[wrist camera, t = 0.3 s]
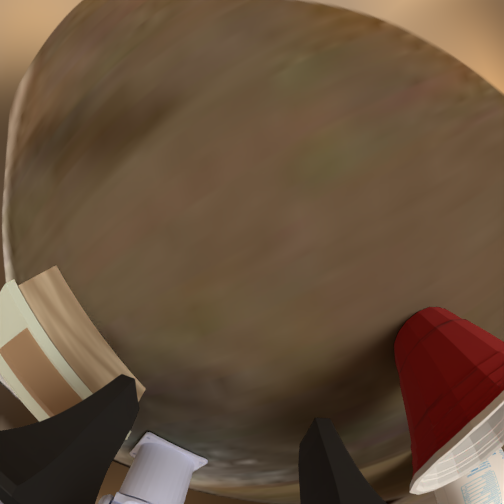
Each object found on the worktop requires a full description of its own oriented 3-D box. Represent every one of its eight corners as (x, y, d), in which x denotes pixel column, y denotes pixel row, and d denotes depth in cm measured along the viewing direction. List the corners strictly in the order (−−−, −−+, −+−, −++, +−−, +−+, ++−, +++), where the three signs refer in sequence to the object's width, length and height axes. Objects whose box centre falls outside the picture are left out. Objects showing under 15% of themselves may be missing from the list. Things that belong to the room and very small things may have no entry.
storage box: (56, 265, 19) (18, 285, 14) (145, 388, 22) (125, 425, 17) (12, 315, 22) (-14, 333, 17) (78, 405, 25) (60, 429, 20)
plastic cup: (434, 389, 19) (479, 478, 8) (343, 380, 20) (370, 508, 8) (490, 291, 16) (575, 363, 5) (403, 258, 16) (519, 361, 5)
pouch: (444, 421, 21) (492, 544, 2) (499, 423, 22) (538, 501, 2) (402, 458, 23) (429, 573, 4) (467, 454, 24) (496, 532, 5)
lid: (13, 279, 14) (-23, 299, 10) (131, 431, 17) (113, 466, 13) (-18, 332, 17) (-39, 347, 13) (60, 434, 20) (46, 454, 16)
